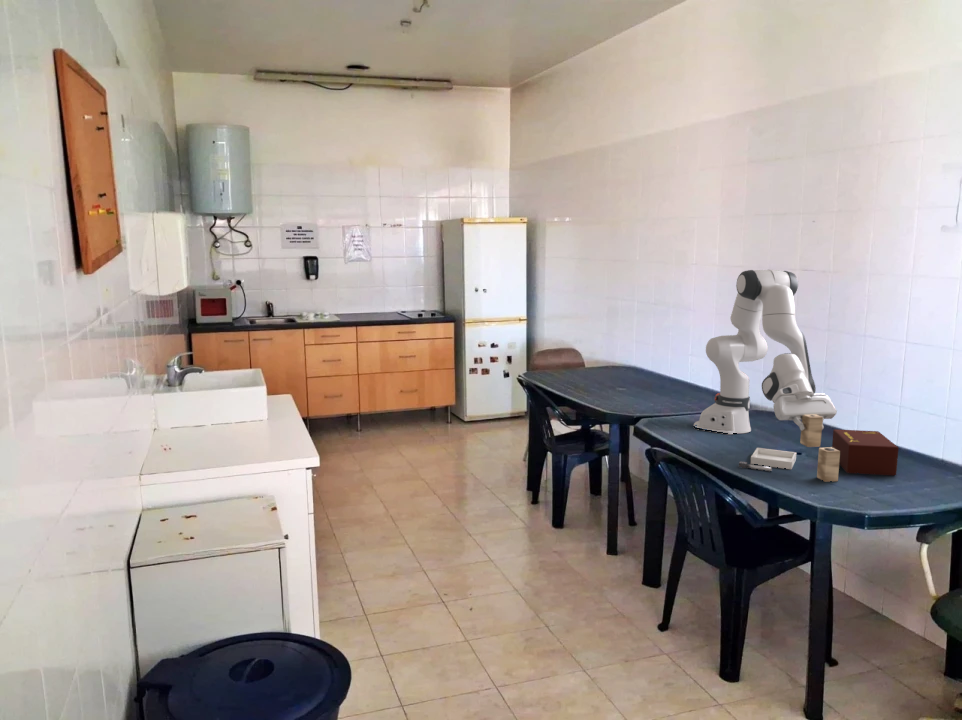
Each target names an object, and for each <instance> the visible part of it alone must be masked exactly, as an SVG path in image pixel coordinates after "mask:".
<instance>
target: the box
mask: <svg viewBox="0 0 962 720" xmlns="http://www.w3.org/2000/svg"><path fill="white" fill-rule="evenodd" d="M832 431H833V432H832V443H831V444H832V445H831V447H832V448H835V449H837V450H839V451H840V460H839V467H841V468H842V470H844V471H845V473H847V474H857V473H859V474H862V475H875V476H877V475H878V476H879V475H880V476H894V475H896V476H897V471H898V470H897V469H898V457H899V447H898V446H897V445H896V444H895V443H893V442H892V441H891V440H890V439H888V438H887V437H886V436H885V435H884V434H882V433H881V432H880V431H878V430H861V429H860V430H857V429H856V430H855V429H853V430H852V429H833V430H832Z"/></svg>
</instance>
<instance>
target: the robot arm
mask: <svg viewBox="0 0 962 720" xmlns="http://www.w3.org/2000/svg"><path fill="white" fill-rule="evenodd" d="M735 287H736V291H737V293H736V297H735V300H734V303H733V304H734V305H733V307H732V310H731V314H730V322H731V324H732V325H733V327H734V328H736V329H737V331H738V332H737V333H736V334H733V335H732V334H731V335H729V334H728V335H719V336H716V337H712V338H710V339H709V340H708V341H707V343H706V345H705V353H706V356H707V358H708V359H709V361H711V362H712V363H713V364H714V365H715V366H716V368H717V371H718V373H719V378H720V381H719V383H720V386H719V387H720V389H719V390H720V391H719V393H717V394H716V393H715V396H714V403H713V404H711V405H710V406H708V407H706V408H704V410H703V411H701V414H700V416H699V420H696V421H695V422H694V423H693V426H695V425H697V426H695V427H697V428H702V429H707V430H712V431H717V432H723V433H728V434H727V435H734V434H733V433H737V434H748V433H749V432H751V431H752V427H751V423H750V416H749V411H750V406H751V398H750V377H749V375H748V374H746V373H745V372H743V371H742V370H741V368H740V365H739V363H747V362H748V363H749V362H755V361H759V360H762V359H764V358H766V355H767V353H768V349H769V347H768V343H767V341H766V339H765V338H764V337H763V335H762V334H761V331H760V325H762V330H763V332H764V333H765V335H766V336H767V337H768V338H770V339H771V340H773V341H775V342H777V343H779V344H781V345H783V346H785V348H788V350H789V351H790V352H787V353H786V352H785V353H780V354H778V355H776V356H775V357H774V359H773V362H772V363H773V364H772V365H773V366H772V368H771V371H770V372H769V374H767V376H765V378H764V379H763V381H762V382H761V391H762V393H763V396H764V397H765V398H766V399H767V400H768V401H771V402H772V403H773V411H774V412H773V413H774V414H775V418H776V419H778V421H793V422H794V424H796V425H797V426H798V427H799V430H800V432H801V431H805V430H806V429H807V427H806V424H803V423H802V416H803V415H811V414H817V415H819V416H821V417H823V422H822V431H823V430H824V428H825V426H824V424H823V423H824V420H830V419H831V420H832V419H833V418H835V416H836V415H837V411H838V410H837V408H836V406H835V405H834V403H833V400H831V398H830V396H829V395H827V394H825V393H823V392H822V393H816V392H817V391H816V388H817V387H816V383H815V380H814V378H813V374H812V369H811V363H810V356H809V352H808V345H807V341H806V337H805V334H804V333H803V332H802V331H801V330H800V329H799V326H798V324H797V320H796V319H797V318H796V306H795V305H796V304H795V299H794V296H795V295H796V293H797V291H798V287H799V280H798V278H797V276H796V274H795V273H794V272H791V271H787V270H777V269H759V270H758V269H757V270H753V269H748V270H744V271H743V270H742V272H741V273H739V275H738V277H737V278H736V285H735ZM761 320H762V321H761ZM761 323H762V324H761ZM717 432H716V433H717ZM723 433H722V434H723Z"/></svg>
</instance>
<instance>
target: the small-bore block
mask: <svg viewBox="0 0 962 720" xmlns="http://www.w3.org/2000/svg"><path fill="white" fill-rule="evenodd" d="M801 422H802V423H803V424H806V427H807V429H806V430H805V431H801V430H800V437H799V438H800V440H799V441H800V444H801V445H803V446H804V447H807V448H815V447H816V448H817V447H819V448H821V444H822V443H821V442H822V431H823V430H822V424H823V423H824V420H823V417H821V416H819V415H817V414H811V415H803V416H802V420H801ZM822 422H823V423H822Z"/></svg>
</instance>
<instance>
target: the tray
mask: <svg viewBox="0 0 962 720" xmlns="http://www.w3.org/2000/svg"><path fill="white" fill-rule="evenodd" d="M796 460H797V452H795V451H786V450H779V449H778V450H777V449H771V448H763V447H756V448H755V450H754V452H753V453H752V454H751V456H750V465H754V464H758V465H757V466H762V465H764V467H769V466H770V467H772V468H777V467H778V469H784V468H786V470H792V469H793V467H794V465H795V462H796Z"/></svg>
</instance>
